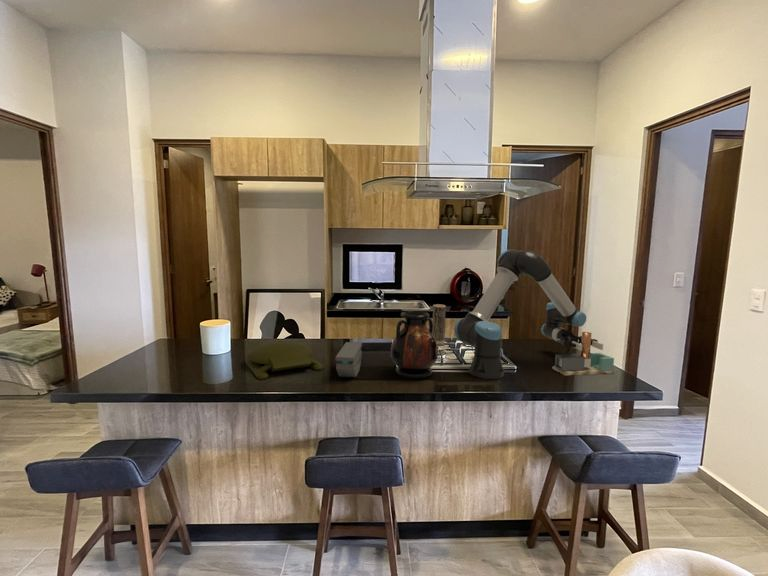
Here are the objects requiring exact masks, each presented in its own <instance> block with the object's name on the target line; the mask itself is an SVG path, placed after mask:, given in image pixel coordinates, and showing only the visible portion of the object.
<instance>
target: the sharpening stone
mask: <svg viewBox="0 0 768 576" xmlns="http://www.w3.org/2000/svg"><path fill="white" fill-rule="evenodd" d="M362 347H363V342H351V341H350V342H348V341H345V343H344V344H343V346H342V347H341V349H340V350H339V352H337V354H336V356H335V362H336V361H337V362H336V363H335V369H336V372H337V376H338V377H341V378H342V377H344V378H357V376H358V374H359V372H360V370H361V363H362V355H363V354H362V353H363V352H362V351H363V350H362Z"/></svg>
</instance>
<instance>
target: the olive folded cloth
mask: <svg viewBox="0 0 768 576" xmlns="http://www.w3.org/2000/svg"><path fill="white" fill-rule="evenodd" d="M247 354H248V355H247V359H245V364H246V365H247V366H248V368H249V370H250V371H251V372H252V373H253V374H254V376H255V377H256V378H257V379H258V380H266V379H268V378H269V377H270V374H269V372H268V370H270V371H271V372H279V371H286V370H291V369H292V370H293V369H299V368H305V367H310V368H312V369H313V370H314V371H322V370H323V369H324V368H325V366H324V365H323V364H322V363H321V362H319V361H317V360H316V359H315V358H313V357H312V356H313V354H314V353H313V350H312V349H311V348H310V347H309V346H308V345H305V344H303V343H300V342H294V341H279V342H278V341H277V342H269V343H264V344H261V345H259V346H256V347H254V348H253V349H252V350H250V351H249V352H248V353H247ZM262 364H263V365H262Z"/></svg>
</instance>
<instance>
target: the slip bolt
mask: <svg viewBox="0 0 768 576" xmlns="http://www.w3.org/2000/svg"><path fill="white" fill-rule="evenodd" d="M581 336H582V340H581V343H580V344H581V345H582V351H580V353H579V355H580V356H583V357H585V363H584V367H592V358H590V353H591V347H592V345H591V339H592V332H591V331H590V332H589V331H582V332H581ZM558 366H560V367H562V359H560V358H559V360H558Z"/></svg>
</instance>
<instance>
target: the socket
mask: <svg viewBox="0 0 768 576" xmlns="http://www.w3.org/2000/svg"><path fill="white" fill-rule="evenodd" d="M590 358H592V367H594V368H596V369H598V370H601V371H611V370H613V371H614V365H615V362H614V361H615V358H614V357H611V356H609V355H608V354H604V353H602V352H592V353H591V352H590Z"/></svg>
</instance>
